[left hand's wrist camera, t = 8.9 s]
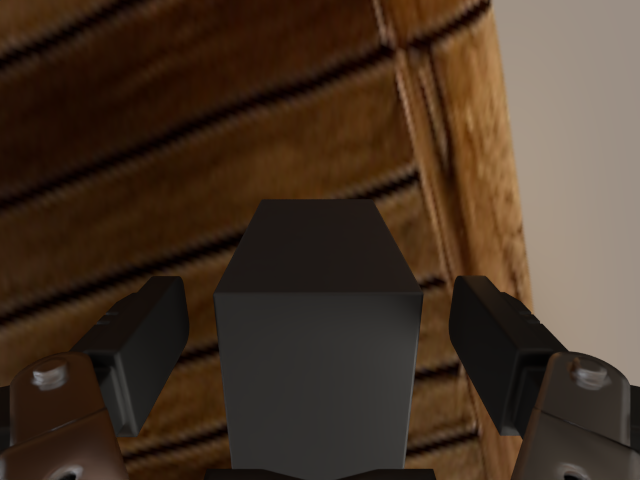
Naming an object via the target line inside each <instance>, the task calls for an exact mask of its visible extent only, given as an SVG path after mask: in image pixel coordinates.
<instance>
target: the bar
mask: <svg viewBox="0 0 640 480" xmlns="http://www.w3.org/2000/svg"><path fill="white" fill-rule="evenodd" d="M423 295H424V294H423V292H422V290H421V288H420V286H419V284H418V283H417V281H416V279H415V277H414V275H413V273H412V272H411V270H410V268H409V266H408V264H407V262H406V261H405V259H404V257H403V255H402V253H401V251H400V250H399V248H398V246H397V244H396V242H395V240H394V238H393V237H392V235H391V233H390V231H389V229H388V227H387V226H386V224H385V222H384V220H383V218H382V216H381V215H380V213H379V211H378V209H377V207H376V205H375V204H374V202H373V200H371V199H263V200H261V202H260V204H259V206H258V208H257V210H256V212H255V214H254V216H253V218H252V220H251V222H250V224H249V225H248V227H247V229H246V231H245V233H244V235H243V237H242V239H241V241H240V243H239V245H238V247H237V249H236V251H235V253H234V255H233V257H232V259H231V261H230V263H229V264H228V266H227V268H226V270H225V272H224V274H223V276H222V278H221V280H220V282H219V284H218V286H217V288H216V290H215V292H214V294H213V299H214V308H215V317H216V326H217V336H218V345H219V354H220V363H221V372H222V381H223V390H224V399H225V409H226V418H227V427H228V436H229V445H230V454H231V463H232V469H265V470H269V471H273V472H277V473H280V474H284V475H288V476H292V477H296V478H300V479H304V480H336V479H340V478H344V477H348V476H352V475H356V474H360V473H363V472H367V471H371V470H375V469H404V465H405V456H406V447H407V438H408V429H409V420H410V411H411V402H412V393H413V384H414V376H415V367H416V358H417V349H418V340H419V331H420V322H421V313H422V304H423Z"/></svg>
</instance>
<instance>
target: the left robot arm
mask: <svg viewBox="0 0 640 480" xmlns="http://www.w3.org/2000/svg"><path fill="white" fill-rule="evenodd" d="M449 335H450V340H451V343H452V345H453V347H454V349H455V350H456V352H457V354H458V356H459V358H460V360H461V362H462V364H463V366H464V368H465V369H466V371H467V373H468V375H469V377H470V379H471V381H472V383H473V385H474V387H475V388H476V390H477V392H478V394H479V396H480V398H481V400H482V402H483V404H484V406H485V407H486V409H487V411H488V413H489V415H490V417H491V419H492V421H493V423H494V424H495V426H496V428H497V430H498V432H499V434H500V436H521V438H522V439H523V441H522V444H521V448H520V451H519V454H518V457H517V461H516V464H515V467H514V470H513V473H512V477H511V480H640V387H638V386H633V385H630V384H629V382H628V380H627V378H626V377H625V376H624V375H623V374H622V373H621V372H620V371H619V370H618V369H616V368H615V367H613V366H612V365H610V364H608V363H607V362H605V361H603V360H600V359H598V358H596V357H593V356H590V355H587V354H583V353H578V352H570V351H568V350H567V349H566V348H565V347H564V346H563V345H562V344H561V343H560V342H559V341H558V340H557V338H556V337H555V336H554V335H553V334H552V333H551V332H550V331H549V330H548V329H547V328H546V327H545V326H544V325H543V324H540V321H539V320H538V319H537V318H536V317H535V316H534V315H533V314H531V312H530V310H529V309H528V308H527V307H526V306H525V305H524V304H523V303H522V302H521V301H519V300H517V299H516V298H514V297H512V296H510V295H509V294H507V293H505V292H500V291H499V290H498V289H497V288H496V287H495V286H494V284H493V283H492V282H491V281H490V280H489V279H488V278H487V277H486V276H457V278H456V280H455V283H454V289H453V297H452V304H451V311H450V318H449ZM188 336H189V318H188V311H187V304H186V297H185V290H184V284H183V280H182V278H181V277H180V276H153V277H151V278H150V279H149V280H148V281H147V282H146V284H145V285H144V286H143V287H142V288H141V289H140V290H139V291H138V292H137V293H132V294H130V295H128V296H127V297H125V298H123V299H121V300H120V301H118V302H116V303H115V304H114V305H113V306H112V308H111V309H110V310H109V311H108V312H107V313H106V315H104V316H103V317H102V318H101V319H100V320H99V321H98V322H97V325H94V326H93V327H92V328H91V329H90V330H89V331H88V332H87V333H86V334H85V335H84V336H83V337H82V338H81V339H80V340H79V341H78V342H77V343H76V345H75V346H74V347H73V348H72V349H71V350H70V351H69V352H62V353H57V354H53V355H50V356H47V357H44V358H42V359H39V360H37V361H35V362H33V363H32V364H30V365H28V366H27V367H25V368H24V369H22V370H21V371H20V372H19V373H18V374H17V375H16V376H15V377H14V378H13V380H12V382H11V384H10V385H9V386H5V387H0V480H129V477H128V473H127V470H126V467H125V464H124V461H123V457H122V454H121V451H120V448H119V444H118V441H117V438H116V437H137V435H138V434H139V432H140V430H141V428H142V426H143V424H144V422H145V420H146V419H147V417H148V415H149V413H150V411H151V409H152V407H153V405H154V404H155V402H156V400H157V398H158V396H159V394H160V392H161V390H162V389H163V387H164V385H165V383H166V381H167V379H168V377H169V375H170V374H171V372H172V370H173V368H174V366H175V364H176V362H177V360H178V359H179V357H180V355H181V353H182V351H183V349H184V347H185V345H186V343H187V340H188ZM204 480H304V479H300V478H296V477H292V476H288V475H284V474H280V473H277V472H273V471H269V470H265V469H207V471H206V474H205V477H204ZM336 480H436V477H435V474H434V471H433V469H375V470H371V471H367V472H363V473H360V474H356V475H352V476H348V477H344V478H340V479H336Z"/></svg>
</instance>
